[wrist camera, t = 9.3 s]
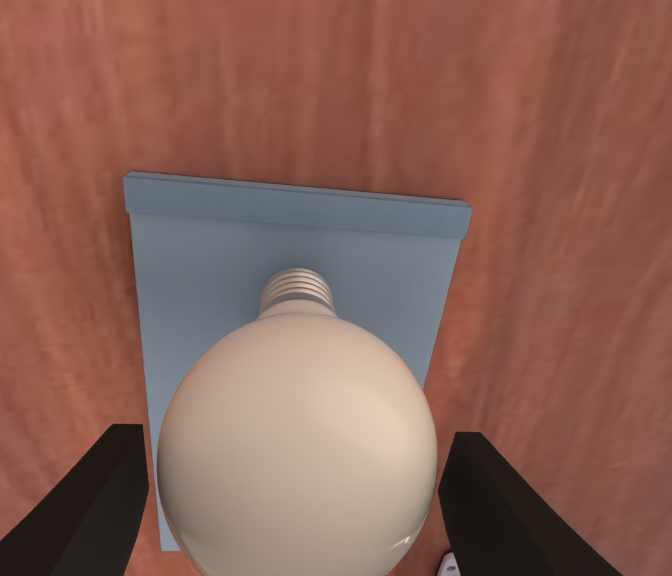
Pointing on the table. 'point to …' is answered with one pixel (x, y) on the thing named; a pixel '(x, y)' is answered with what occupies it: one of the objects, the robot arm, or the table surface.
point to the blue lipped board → (279, 268)
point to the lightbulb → (297, 445)
